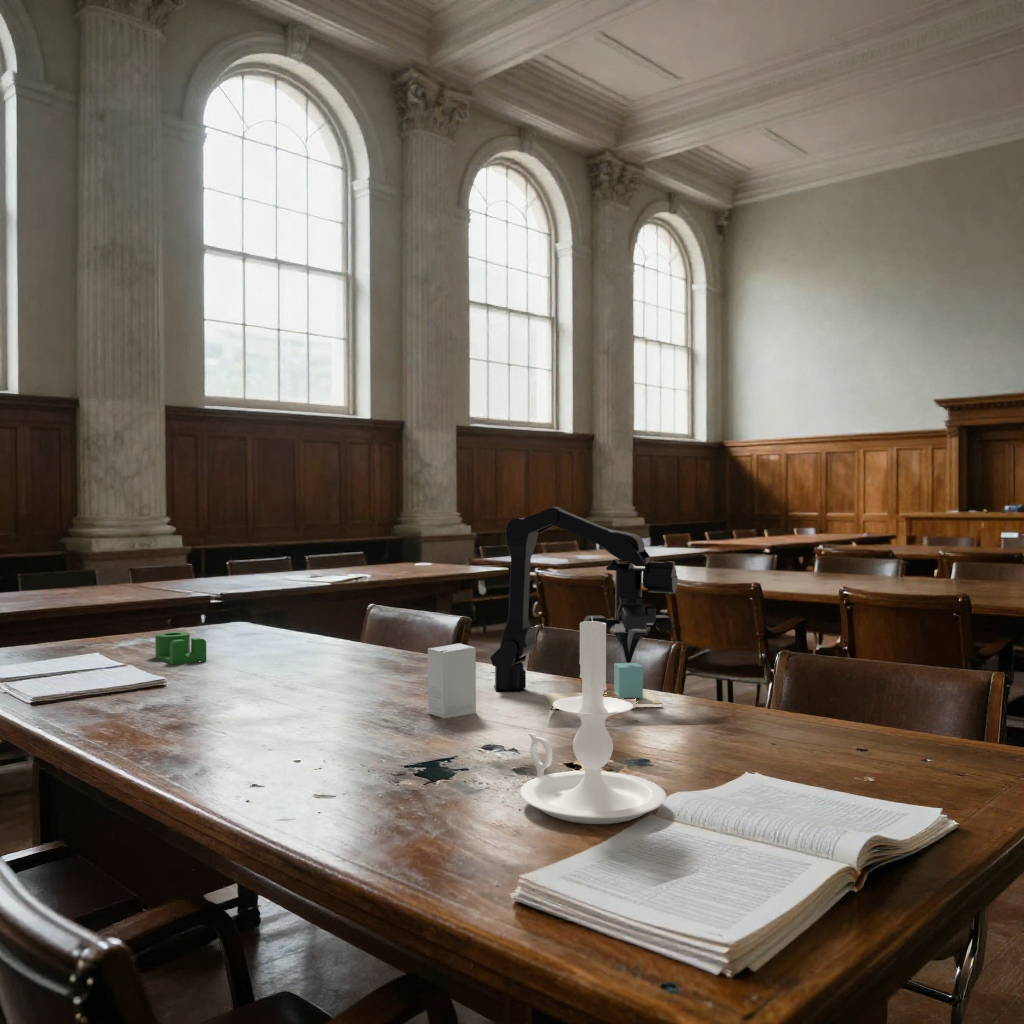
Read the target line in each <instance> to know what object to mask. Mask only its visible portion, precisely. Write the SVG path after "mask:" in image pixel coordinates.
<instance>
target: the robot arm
mask: <svg viewBox="0 0 1024 1024" xmlns="http://www.w3.org/2000/svg"><path fill="white" fill-rule="evenodd" d="M552 527H557V528H558V529H559V528H560V529H561V530H564V531H566V532H568V533H571V534H574V535H576V536H578V537H581V538H583V539H585V540H587V541H590V542H592V543H595V544H597V545H598V546H600V547H601V548H603V549H604V550H605V551H606V552H607V553H609V554H610V555H612V556H613V557H616V558H615V559H612V561H611V563H610V564H608V566H607V567H606V568H605V569H606V570H607V571H615V590H614V591H615V594H614V600H615V606H614V607H615V609H614V612H615V613H614V618H606V617H605V616H603V615H586V616H585V617H584V620H583V622H584V621H592V619H593V621H598V622H602V623H606V629H609V628H610V629H609V633H611V634H612V635H613V636H615V638H616V639H617V641H618V645H619V646H620V648H621V652H622V654H623V658H624V661H625V663H632V659H633V657H634V654H635V651H636V648H637V645H638V644H639V642H640V640H641V639H642V637H643V636H646V635H648V631H646V629H647V628H656V629H657V630H658V631H659V632H672V631H674V620H673V619H672V618H671V617H670V616H668V615H667V614H657V608H656V606H655V605H646V606H644V603H643V602H644V600H643V596H642V595H643V588H644V589H646V590H647V592H648V593H661V594H662V593H663V594H675V593H677V589H678V577H679V576H678V575H677V569H676V565H675V564H676V562H675V561H671V560H670V561H654V560H653V559H652V557H651V556H650V554H649V553H648V552H647V550H646V549H645V543H644V541H643V538H642V537H641V536H639V535H638V534H635V533H632V532H627V531H623V530H616V529H612V528H607V527H605V526H602V525H599V524H598V523H595V522H593V521H590V520H588V519H586V518H583V517H581V516H578V515H576V514H573V513H571V512H568V511H567V510H564V508H561V507H558V506H551V507H547V508H546V509H544V510H543V511H540V512H538V513H535V514H532V515H530V516H527V517H519V518H517V517H516V518H513V519H511V520H510V521H509V522H508V523H507V524H506V526H505V529H504V532H505V541H506V547H507V549H508V553H509V555H510V571H509V573H510V575H509V594H508V595H509V596H508V597H509V598H508V618H507V621H506V624H505V626H504V629H503V631H502V636H501V640H500V647H498V649H497V650H496V651H495V652H494V653H493V654H492V655H491V656H490V661H491V664H492V666H493V667H494V685H493V689H494V691H495V692H496V693H521V692H520V691H524V692H525V689H526V687H527V686H526V683H527V682H526V681H527V680H526V679H527V678H526V674H527V673H526V670H525V668H524V662H525V661H526V659H527V656H528V655H529V654H530V653H531V652H532V651H533V649H534V645H537V641H536V640H537V639H536V633H537V626H531V623H530V619H529V606H530V603H529V602H530V587H531V586H530V583H531V563H532V562H531V561H532V555H533V553H534V551H535V549H536V545H537V541H538V538H539V534H541V533H543V532H545V531H548V530H549V529H551V528H552ZM619 560H620V561H623V562H620V561H619ZM642 587H643V588H642ZM591 616H592V619H591ZM626 630H627V631H628V632H627V631H626Z"/></svg>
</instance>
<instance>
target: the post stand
mask: <svg viewBox="0 0 1024 1024" xmlns="http://www.w3.org/2000/svg"><path fill="white" fill-rule="evenodd" d="M643 691H644V690H643ZM604 692H605V693H604ZM607 692H608V691H603V694H607ZM648 692H650V691H648V690H647V691H644V692H643V698H636V702H637V701H638V702H637V703H638V704H662V705H663V703H662V701H660V700H659V699H658V698H657V697H656V696H654V695H653V694H652V693H651V694H649V693H648ZM543 694H544V696H545V697H544V696H543V697H544V698H545V700H546V699H547V700H546V702H548V704H549V705H550V707H552V706H553V703H554V702H555V701H557V700H559V699H563V698H568V697H577V696H582V692H543V693H542V695H543ZM604 696H607V695H604ZM604 696H603V697H604ZM624 699H635V698H624ZM637 703H636V704H637ZM632 704H633V703H632Z"/></svg>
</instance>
